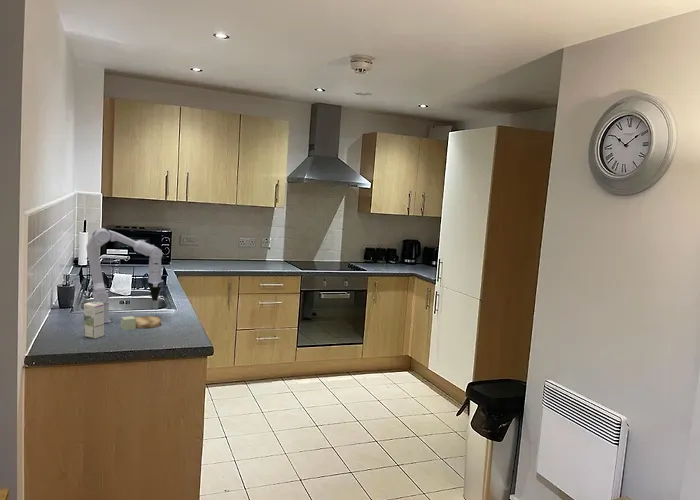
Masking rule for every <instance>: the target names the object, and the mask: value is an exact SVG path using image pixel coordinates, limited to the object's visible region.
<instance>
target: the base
mask: <svg viewBox="0 0 700 500" xmlns="http://www.w3.org/2000/svg"><path fill="white" fill-rule="evenodd" d="M135 318H136V329H152V328H158V327H160V326H161V325H162V318H161V317H158V316H153V315H150V316H149V315H146V316H145V315H144V316H138V317H135Z"/></svg>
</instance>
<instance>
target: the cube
mask: <svg viewBox="0 0 700 500" xmlns="http://www.w3.org/2000/svg"><path fill="white" fill-rule="evenodd" d="M120 328H121V329H122V330H123V331H130V330H132V331H133V330H136V329H137V328H136V317H135V316H133V315H130V316H122V317H121V316H120Z"/></svg>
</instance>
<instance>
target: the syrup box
mask: <svg viewBox="0 0 700 500" xmlns="http://www.w3.org/2000/svg"><path fill="white" fill-rule="evenodd" d="M104 327H105V323H104V303H98V302H93V301H90V302H89V301H88V302H86V303H83V337H85V338H91V339H97V338H101V337H104V335H105V329H104Z"/></svg>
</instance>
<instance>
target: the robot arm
mask: <svg viewBox="0 0 700 500" xmlns="http://www.w3.org/2000/svg"><path fill="white" fill-rule="evenodd" d="M109 241H110V242H120V243H122V244H125V245H126V246H130V247H132V248H133V251H134V252H136V253H138V254H141V255H144V256H145V257H149V258H148V259H149V260H148V280H147V282H148V283H147V284H148V289H149V290H150V296H151V300H152V301H153V302H154V301H158V299H159V298H158V297H159V293H160V291H161V289H162V286H160V285H161V283H163V282H164V279H162V257H163V255H164V253H163V252H162V249H161V248H159V247H157V246H155V244H151V243H148V242H146V240H144V239H138V240H134V239H132V238H129V237H127V236H125V235H123V234H122V233H119V232H116V231H113V230H110V229H107V228H104V227H99V228H97V229H95V230H94V231H93V232H92V234H91V236H90V238H89V240H88V243H87V244H86V252H87V258H88V263H89V269H90V274H91V275H90V276H91V279H92V286H93V291H92V297H93V301H92V302H98V303H104V324H107V323H112V320H110V301H109V298H110V295H109V293H108V291H107V290H106V287H105V283H104V278H103V272H102V266H101V260H100V255H99V250H100V248H101V247H102V246H103V245H105V244H106V243H108V242H109Z"/></svg>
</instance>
